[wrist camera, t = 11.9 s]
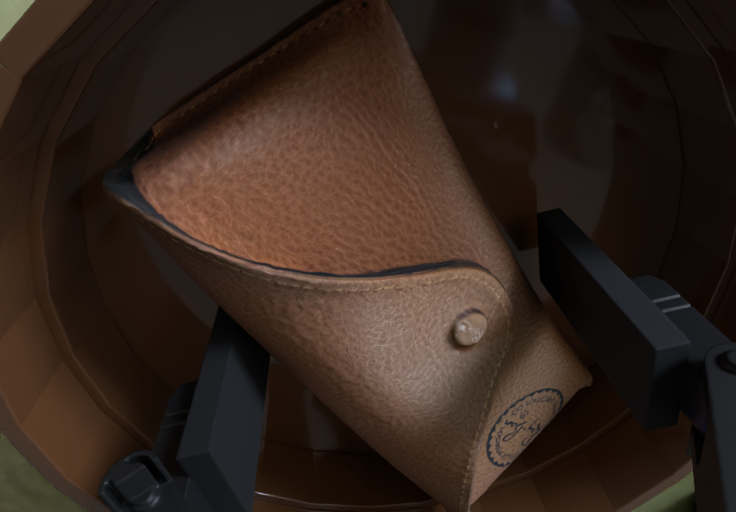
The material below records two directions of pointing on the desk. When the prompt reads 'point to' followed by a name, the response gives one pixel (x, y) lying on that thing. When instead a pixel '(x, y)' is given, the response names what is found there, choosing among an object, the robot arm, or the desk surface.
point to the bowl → (482, 160)
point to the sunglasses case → (357, 248)
